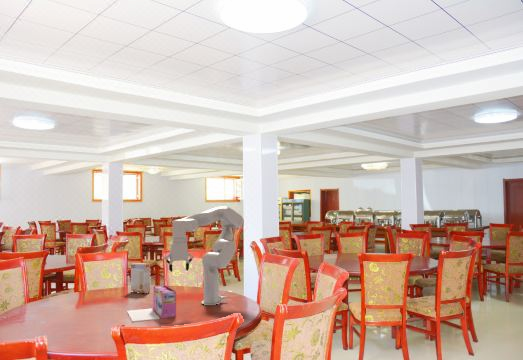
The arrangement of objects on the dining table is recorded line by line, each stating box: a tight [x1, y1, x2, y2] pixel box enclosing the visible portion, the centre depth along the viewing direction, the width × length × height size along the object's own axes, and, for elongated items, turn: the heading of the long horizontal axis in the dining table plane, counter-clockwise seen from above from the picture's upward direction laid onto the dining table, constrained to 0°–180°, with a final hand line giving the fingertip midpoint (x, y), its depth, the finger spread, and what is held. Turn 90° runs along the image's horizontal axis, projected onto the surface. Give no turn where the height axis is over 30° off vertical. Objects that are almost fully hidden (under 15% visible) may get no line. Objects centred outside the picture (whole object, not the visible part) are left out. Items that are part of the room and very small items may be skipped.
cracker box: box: [130, 262, 151, 294], centre depth 302 cm, size 14×6×21 cm, turn 58°
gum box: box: [152, 285, 177, 319], centre depth 238 cm, size 24×8×14 cm, turn 27°
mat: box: [126, 307, 161, 323], centre depth 233 cm, size 14×26×1 cm, turn 24°
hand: (179, 270), depth 243 cm, fingers open, 8 cm apart
